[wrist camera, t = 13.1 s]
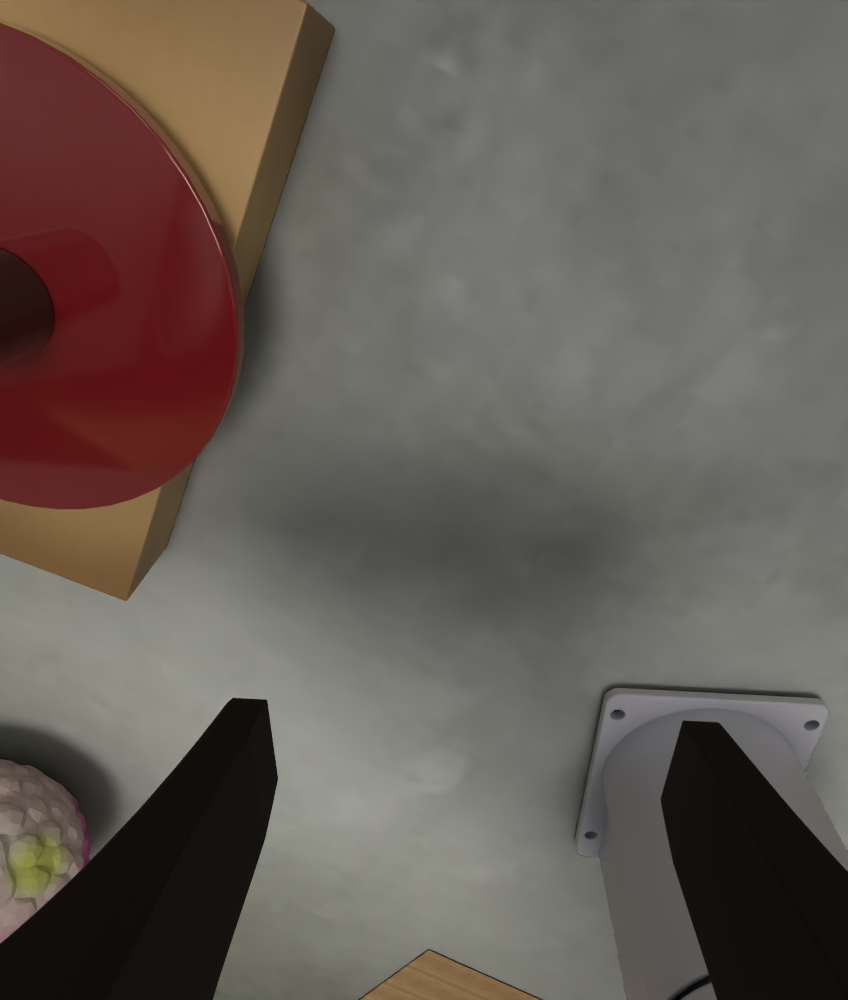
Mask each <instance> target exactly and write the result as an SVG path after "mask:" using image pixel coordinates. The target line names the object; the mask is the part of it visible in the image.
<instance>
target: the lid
mask: <svg viewBox="0 0 848 1000" xmlns="http://www.w3.org/2000/svg"><path fill="white" fill-rule="evenodd" d="M244 343H245V322H244V303H243V298H242V292H241V286H240V281H239V275H238V270H237V267H236V264H235V260H234V257H233V254H232V250H231V247H230V244H229V240H228V238H227V235H226V233H225V231H224V228H223V226H222V224H221V221H220V219H219V217H218V214H217V212H216V210H215V207H214V205H213V203H212V202H211V200H210V198H209V196H208V194H207V193H206V191H205V189H204V187H203V186H202V184H201V182H200V180H199V178H198V177H197V175H196V173H195V172H194V170H193V169H192V167H191V166H190V165H189V163H188V162H187V160H186V159H185V158H184V156H183V155H182V153H181V152H180V151H179V149H178V148H177V146H176V145H175V144H174V142H173V141H172V140H171V138H170V137H169V136H168V135H167V134H166V133H165V132H164V131H163V129H162V128H161V127H160V126H159V125H158V124H157V123H156V122H155V120H154V119H153V118H152V117H151V116H150V115H149V114H148V113H147V111H146V110H145V109H144V108H142V107H141V106H140V105H139V104H138V103H137V102H136V101H135V100H134V99H133V98H131V97H130V96H129V95H128V94H127V93H126V92H125V91H124V90H123V89H122V88H120V87H119V86H118V85H117V84H116V83H115V82H114V81H112V80H111V79H109V78H108V77H107V76H105V75H104V74H102V73H101V72H100V71H98V70H97V69H96V68H94V67H93V66H91V65H90V64H89V63H87V62H86V61H84V60H83V59H82V58H80V57H78V56H76V55H75V54H73V53H71V52H69V51H67V50H66V49H64V48H62V47H60V46H58V45H57V44H55V43H53V42H51V41H49V40H48V39H46V38H43V37H41V36H38V35H36V34H33V33H31V32H28V31H26V30H23V29H21V28H18V27H16V26H13V25H11V24H8V23H4V22H0V499H1V500H4V501H8V502H13V503H17V504H22V505H27V506H32V507H40V508H50V509H89V508H96V507H104V506H110V505H114V504H118V503H121V502H125V501H128V500H132V499H135V498H137V497H140V496H142V495H144V494H146V493H149V492H151V491H153V490H155V489H157V488H159V487H160V486H162V485H163V484H165V483H167V482H168V481H170V480H171V479H173V478H174V477H176V476H177V475H178V474H179V473H180V472H182V471H183V470H184V469H185V468H186V467H187V466H188V465H190V464H191V463H192V462H193V461H194V460H195V459H196V457H197V456H198V455H199V454H200V453H201V451H202V450H203V449H204V448H205V447H206V445H207V444H208V443H209V442H210V441H211V439H212V438H213V437H214V436H215V434H216V432H217V431H218V429H219V427H220V426H221V424H222V422H223V420H224V419H225V417H226V415H227V413H228V411H229V408H230V406H231V403H232V401H233V398H234V396H235V393H236V390H237V386H238V382H239V378H240V373H241V369H242V365H243V354H244Z"/></svg>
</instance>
